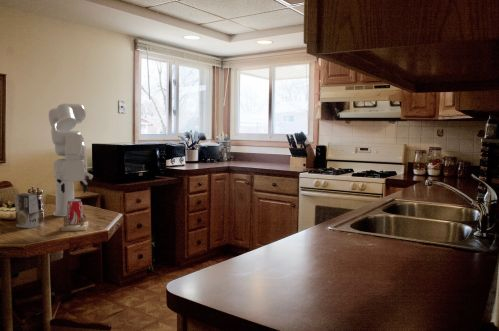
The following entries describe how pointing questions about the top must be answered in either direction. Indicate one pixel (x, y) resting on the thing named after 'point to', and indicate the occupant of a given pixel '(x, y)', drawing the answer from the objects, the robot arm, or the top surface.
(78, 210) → the soda can
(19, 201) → the coffee box
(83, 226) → the peg stand
